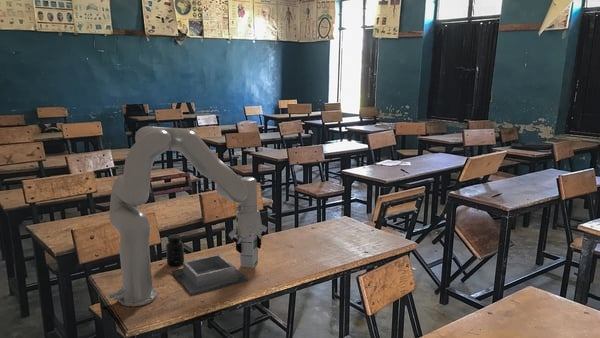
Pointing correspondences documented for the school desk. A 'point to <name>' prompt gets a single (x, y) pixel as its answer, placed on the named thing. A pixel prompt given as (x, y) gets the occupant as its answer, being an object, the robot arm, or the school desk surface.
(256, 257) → the syrup box
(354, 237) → the school desk surface
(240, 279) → the socket
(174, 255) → the supplement bottle
